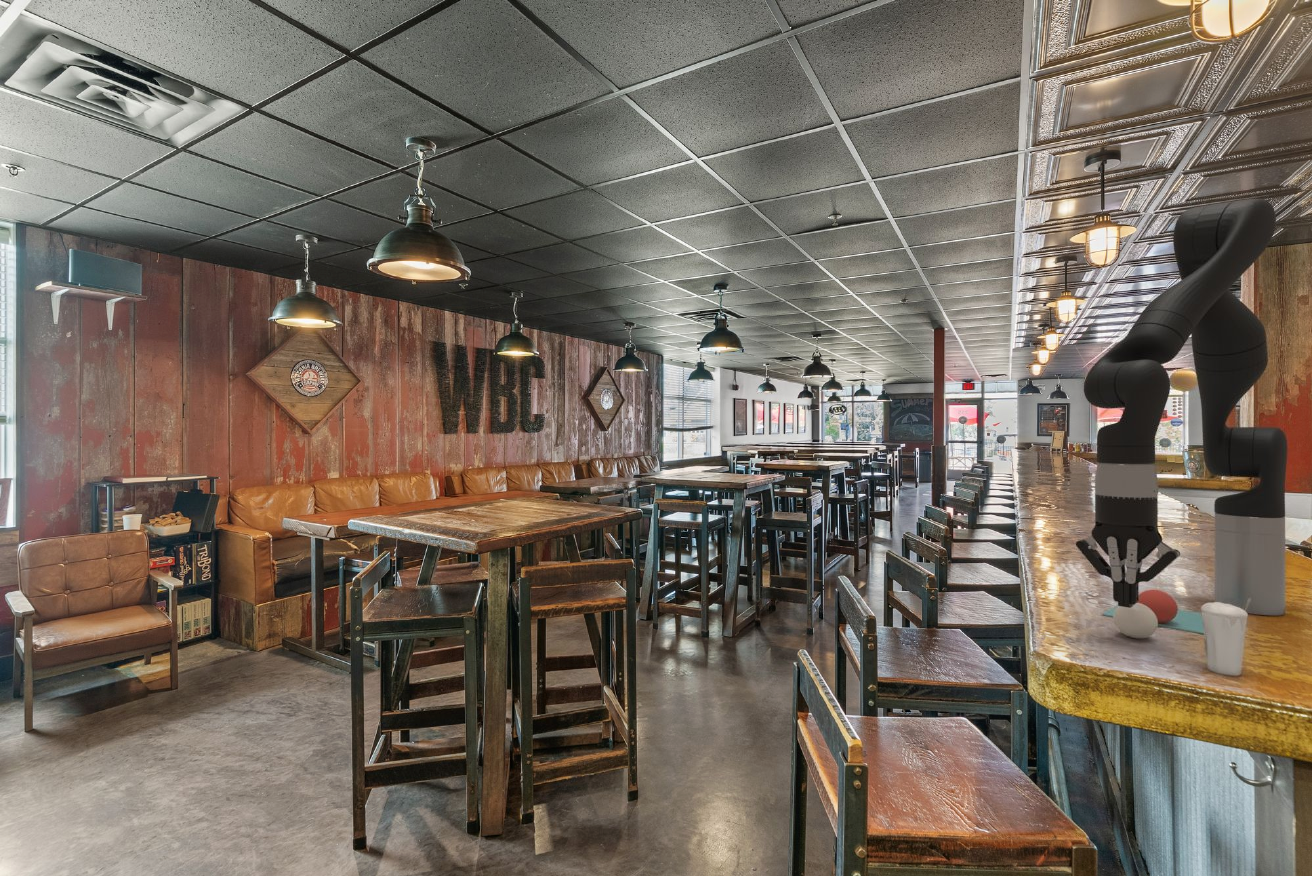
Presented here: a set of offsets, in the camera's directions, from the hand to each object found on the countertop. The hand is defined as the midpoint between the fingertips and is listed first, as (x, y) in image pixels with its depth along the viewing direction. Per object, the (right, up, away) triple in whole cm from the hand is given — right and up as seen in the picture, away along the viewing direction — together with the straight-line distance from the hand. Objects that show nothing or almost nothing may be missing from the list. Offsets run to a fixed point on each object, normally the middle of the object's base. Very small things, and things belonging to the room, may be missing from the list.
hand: (1126, 605), depth 92 cm
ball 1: (+3, -3, +2) cm, 5 cm away
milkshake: (+5, -6, -11) cm, 13 cm away
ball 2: (+13, -3, +10) cm, 17 cm away
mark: (+17, -6, +13) cm, 22 cm away
